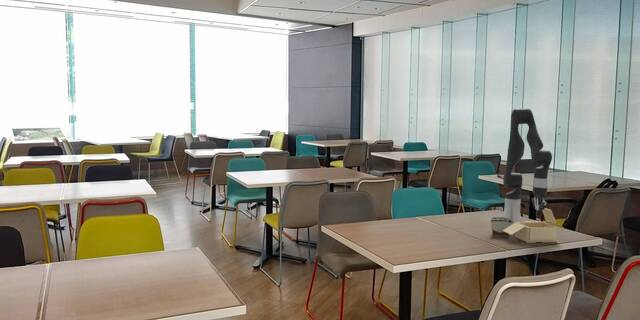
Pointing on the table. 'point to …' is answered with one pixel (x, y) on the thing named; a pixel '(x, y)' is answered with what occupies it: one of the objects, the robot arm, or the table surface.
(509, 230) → the flap front
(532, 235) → the carton
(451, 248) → the table surface
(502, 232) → the food container
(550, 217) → the flap back
